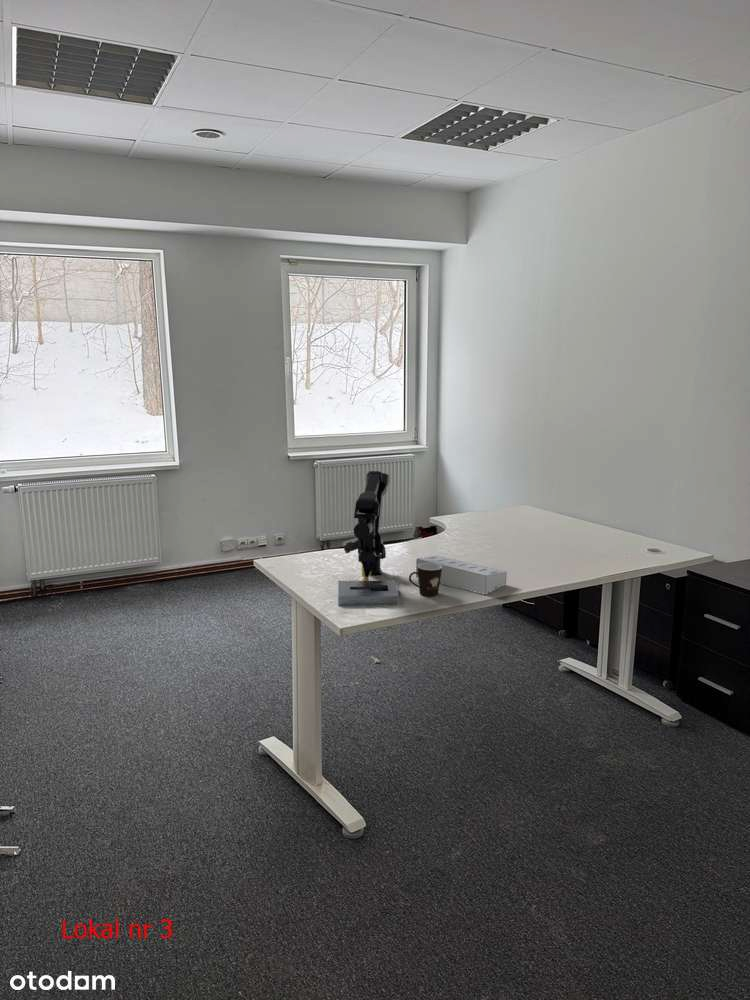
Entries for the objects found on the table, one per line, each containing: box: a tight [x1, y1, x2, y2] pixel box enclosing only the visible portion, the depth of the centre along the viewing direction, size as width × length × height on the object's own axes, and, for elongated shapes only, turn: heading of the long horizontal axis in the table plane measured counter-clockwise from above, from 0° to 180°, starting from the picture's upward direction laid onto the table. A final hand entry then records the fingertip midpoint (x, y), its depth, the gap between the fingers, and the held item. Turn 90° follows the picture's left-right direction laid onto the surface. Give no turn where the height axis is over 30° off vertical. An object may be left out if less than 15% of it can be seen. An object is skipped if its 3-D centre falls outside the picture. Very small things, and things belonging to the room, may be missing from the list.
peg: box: [361, 563, 372, 581], centre depth 251 cm, size 4×4×10 cm
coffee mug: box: [408, 563, 442, 598], centre depth 242 cm, size 12×9×10 cm
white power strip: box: [415, 554, 508, 594], centre depth 256 cm, size 30×14×8 cm, turn 50°
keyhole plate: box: [337, 580, 400, 606], centre depth 238 cm, size 16×20×3 cm
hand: (366, 574), depth 251 cm, fingers open, 6 cm apart
